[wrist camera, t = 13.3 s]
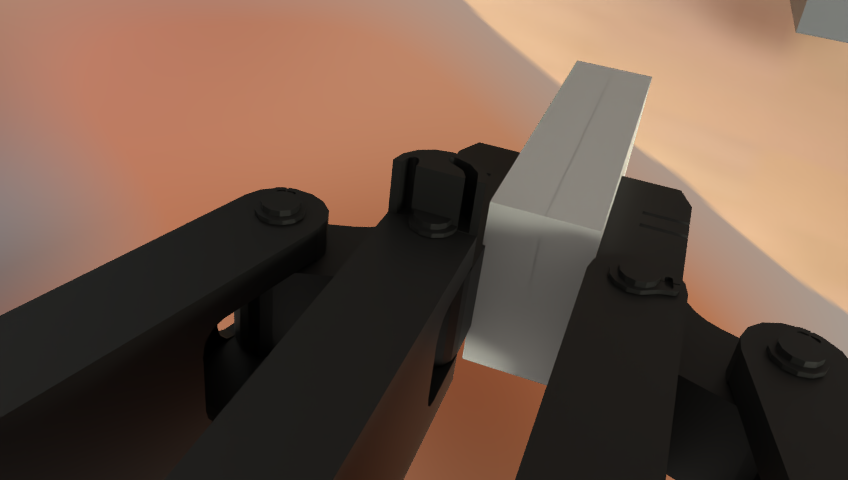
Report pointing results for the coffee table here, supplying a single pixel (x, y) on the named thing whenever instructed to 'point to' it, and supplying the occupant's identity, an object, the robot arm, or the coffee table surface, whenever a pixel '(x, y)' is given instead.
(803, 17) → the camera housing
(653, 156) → the coffee table surface
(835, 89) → the coffee table surface
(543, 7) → the coffee table surface
